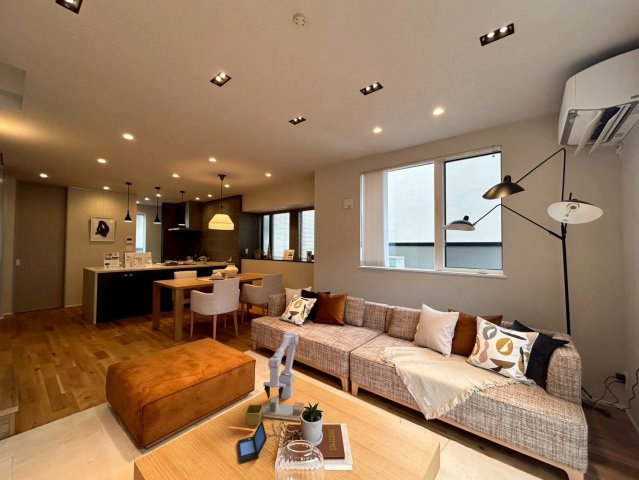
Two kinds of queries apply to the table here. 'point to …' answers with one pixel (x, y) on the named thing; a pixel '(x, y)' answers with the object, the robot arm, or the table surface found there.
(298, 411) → the terracotta tin
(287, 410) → the shelf
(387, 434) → the table surface
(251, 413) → the flower pot
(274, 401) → the sage tin
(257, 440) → the handheld game console
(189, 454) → the table surface
